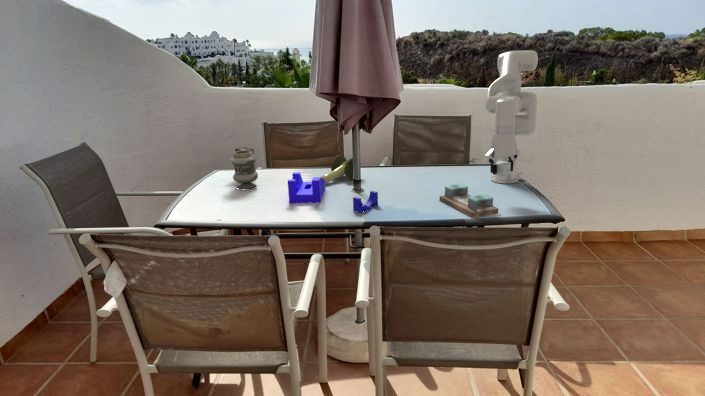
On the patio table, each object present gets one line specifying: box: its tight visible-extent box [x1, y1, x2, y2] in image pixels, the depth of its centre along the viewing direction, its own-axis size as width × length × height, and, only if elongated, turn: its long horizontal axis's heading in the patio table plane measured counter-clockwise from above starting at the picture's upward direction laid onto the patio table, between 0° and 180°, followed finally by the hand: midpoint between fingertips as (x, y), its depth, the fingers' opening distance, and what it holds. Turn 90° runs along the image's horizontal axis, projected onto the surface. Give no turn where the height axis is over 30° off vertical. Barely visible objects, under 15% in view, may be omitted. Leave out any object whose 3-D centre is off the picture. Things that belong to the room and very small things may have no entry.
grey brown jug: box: [234, 146, 257, 172], centre depth 245 cm, size 9×6×16 cm
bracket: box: [287, 171, 326, 204], centre depth 212 cm, size 21×14×10 cm, turn 177°
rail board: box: [439, 183, 499, 219], centre depth 191 cm, size 12×24×6 cm, turn 21°
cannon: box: [320, 154, 362, 185], centre depth 235 cm, size 25×12×11 cm, turn 134°
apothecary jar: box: [230, 150, 259, 190], centre depth 228 cm, size 12×12×18 cm
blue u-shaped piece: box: [352, 190, 379, 214], centre depth 193 cm, size 12×4×6 cm, turn 137°
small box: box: [492, 161, 511, 176], centre depth 193 cm, size 6×6×5 cm
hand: (501, 171), depth 194 cm, fingers closed on small box, 7 cm apart
